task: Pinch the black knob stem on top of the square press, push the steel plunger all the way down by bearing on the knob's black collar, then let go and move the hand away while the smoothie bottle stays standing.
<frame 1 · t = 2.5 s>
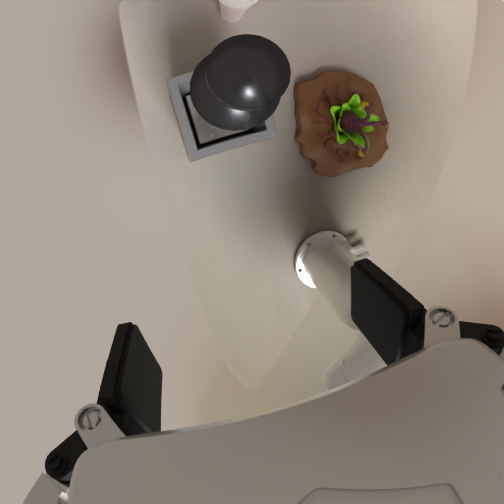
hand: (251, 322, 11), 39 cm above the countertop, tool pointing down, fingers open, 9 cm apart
smoothie: (230, 14, 35), on the countertop
plant: (339, 121, 47), on the countertop
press: (214, 117, 43), on the countertop
plunger: (226, 100, 23), point 22 cm above the countertop, slide at 8.0 cm
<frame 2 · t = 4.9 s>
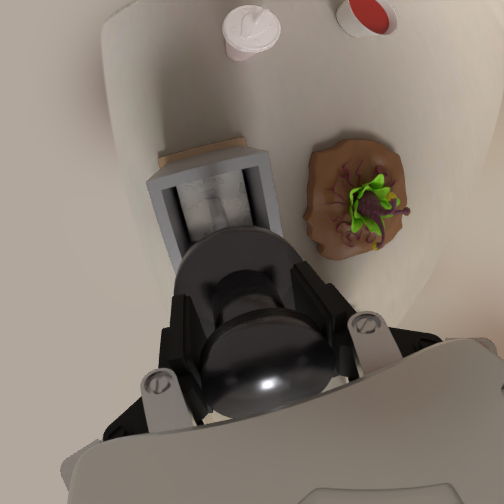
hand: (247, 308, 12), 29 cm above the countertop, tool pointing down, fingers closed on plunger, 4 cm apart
smoothie: (238, 50, 31), on the countertop
plant: (355, 196, 44), on the countertop
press: (210, 187, 39), on the countertop
plunger: (226, 243, 19), point 21 cm above the countertop, slide at 8.0 cm, touching gripper
candle: (353, 21, 31), on the countertop
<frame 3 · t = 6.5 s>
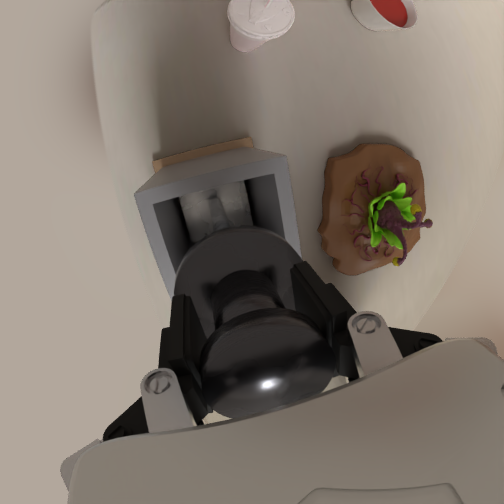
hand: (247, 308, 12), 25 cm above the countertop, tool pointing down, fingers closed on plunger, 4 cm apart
smoothie: (244, 40, 27), on the countertop
plant: (372, 205, 40), on the countertop
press: (212, 194, 34), on the countertop
plunger: (226, 243, 19), point 17 cm above the countertop, slide at 3.2 cm, touching gripper
candle: (368, 13, 27), on the countertop
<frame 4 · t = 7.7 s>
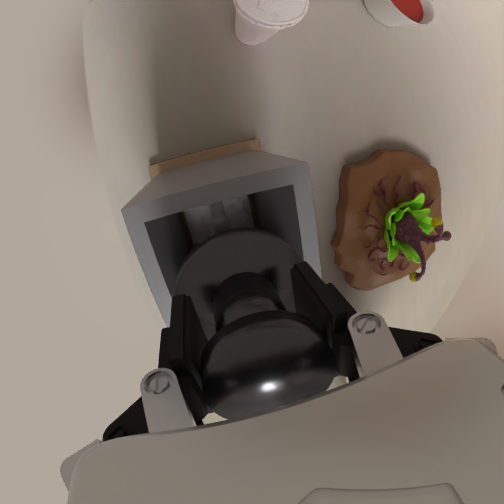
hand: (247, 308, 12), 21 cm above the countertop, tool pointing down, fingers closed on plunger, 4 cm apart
smoothie: (251, 32, 24), on the countertop
plant: (387, 216, 37), on the countertop
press: (215, 202, 31), on the countertop
plunger: (227, 245, 19), point 13 cm above the countertop, slide at -0.3 cm, touching gripper, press
candle: (382, 8, 24), on the countertop
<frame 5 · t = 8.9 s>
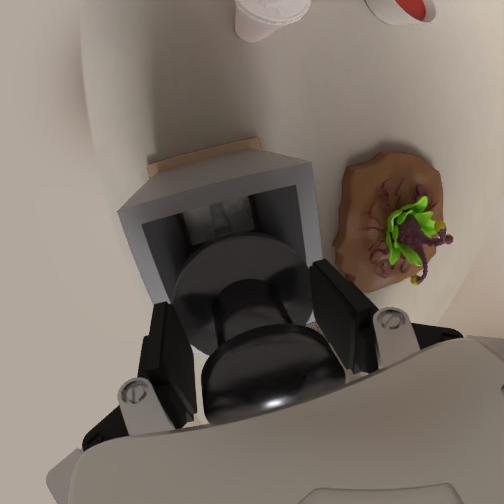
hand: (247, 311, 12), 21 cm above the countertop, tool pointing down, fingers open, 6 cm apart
smoothie: (251, 29, 23), on the countertop
plant: (389, 218, 37), on the countertop
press: (214, 202, 31), on the countertop
plunger: (228, 248, 18), point 13 cm above the countertop, slide at -0.1 cm
candle: (383, 6, 23), on the countertop
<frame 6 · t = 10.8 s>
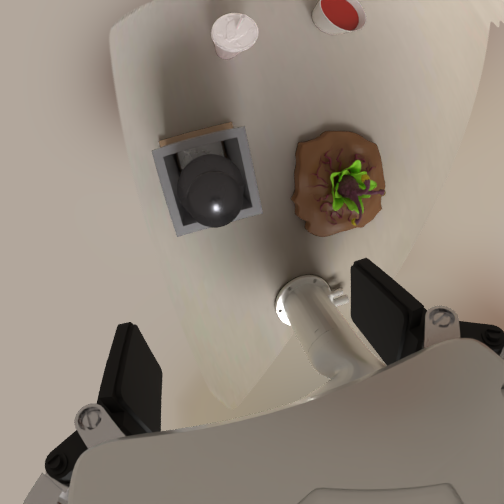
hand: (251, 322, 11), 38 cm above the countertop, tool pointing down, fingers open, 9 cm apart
smoothie: (226, 49, 37), on the countertop
plant: (337, 180, 51), on the countertop
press: (203, 165, 44), on the countertop
plunger: (207, 177, 32), point 13 cm above the countertop, slide at -0.1 cm
candle: (327, 20, 37), on the countertop
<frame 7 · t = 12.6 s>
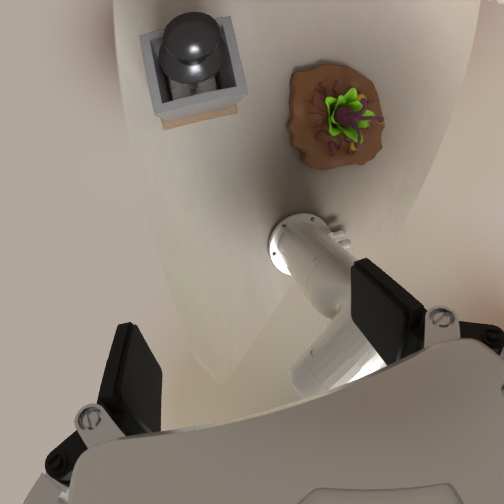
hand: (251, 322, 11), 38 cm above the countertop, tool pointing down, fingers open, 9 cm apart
plant: (334, 115, 46), on the countertop
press: (193, 87, 39), on the countertop
plunger: (192, 68, 27), point 13 cm above the countertop, slide at -0.1 cm
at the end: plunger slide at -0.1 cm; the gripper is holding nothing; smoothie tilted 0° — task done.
